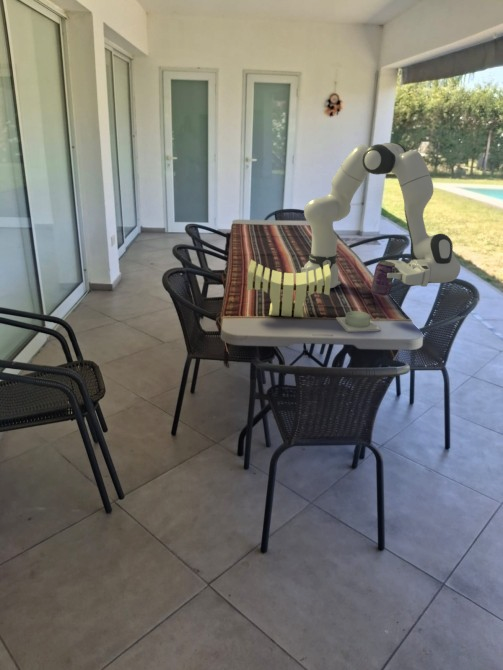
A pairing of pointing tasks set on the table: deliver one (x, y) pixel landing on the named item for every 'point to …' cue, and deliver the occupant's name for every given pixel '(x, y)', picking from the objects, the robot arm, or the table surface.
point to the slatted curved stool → (288, 287)
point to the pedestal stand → (357, 322)
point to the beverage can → (382, 278)
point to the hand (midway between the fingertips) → (382, 271)
